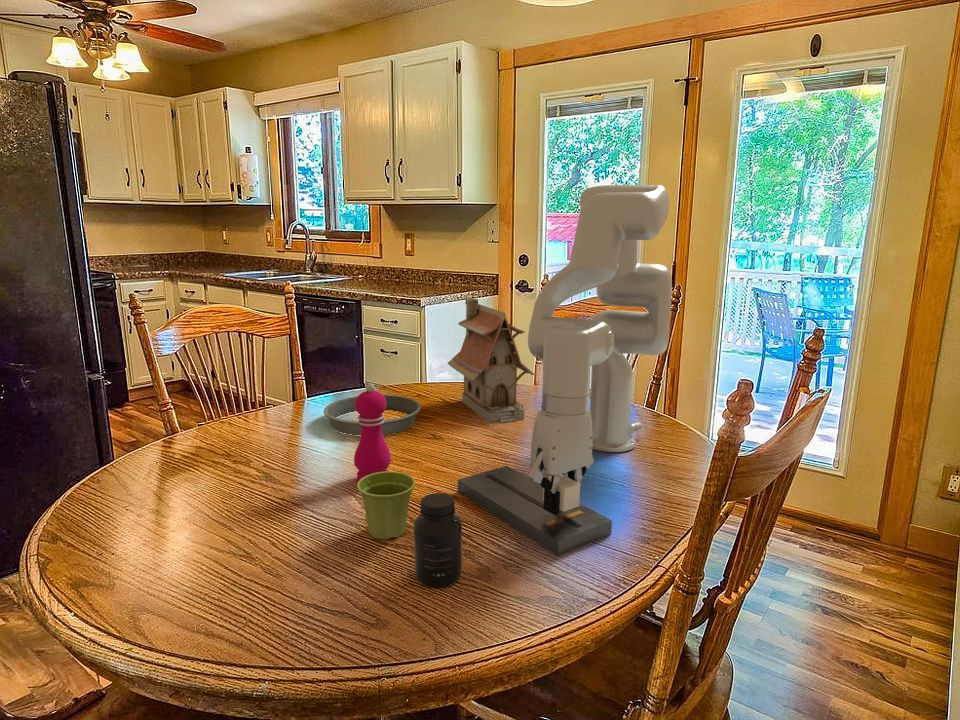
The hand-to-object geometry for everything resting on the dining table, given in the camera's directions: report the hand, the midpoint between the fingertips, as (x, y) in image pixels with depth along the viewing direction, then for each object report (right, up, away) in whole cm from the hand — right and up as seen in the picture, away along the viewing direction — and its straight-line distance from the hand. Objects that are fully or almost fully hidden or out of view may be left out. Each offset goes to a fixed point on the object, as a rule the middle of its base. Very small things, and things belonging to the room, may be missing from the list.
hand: (560, 507), depth 100 cm
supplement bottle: (-20, -7, -13) cm, 24 cm away
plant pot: (-29, -4, 0) cm, 29 cm away
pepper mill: (-35, 0, +20) cm, 40 cm away
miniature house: (-10, +10, +67) cm, 69 cm away
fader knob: (0, -1, 0) cm, 1 cm away
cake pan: (-41, +8, +55) cm, 69 cm away
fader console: (-5, -3, +7) cm, 9 cm away
